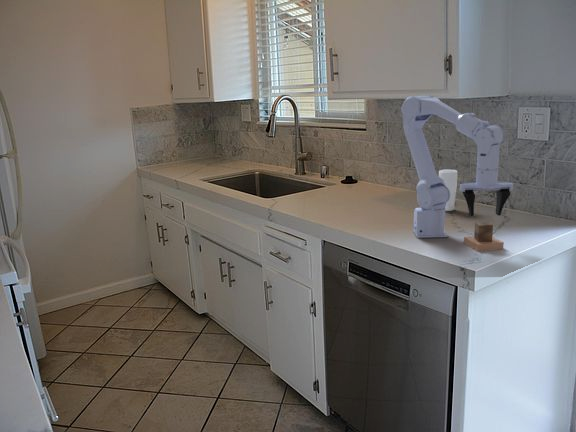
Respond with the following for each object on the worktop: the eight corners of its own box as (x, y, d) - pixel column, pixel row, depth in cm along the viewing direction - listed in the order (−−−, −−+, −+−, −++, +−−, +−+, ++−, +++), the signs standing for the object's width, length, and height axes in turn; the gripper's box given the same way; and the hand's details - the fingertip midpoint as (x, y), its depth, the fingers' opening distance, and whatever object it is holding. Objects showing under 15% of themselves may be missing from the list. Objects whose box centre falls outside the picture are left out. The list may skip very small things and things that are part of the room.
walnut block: (477, 242, 150) (478, 225, 149) (474, 238, 154) (474, 221, 152) (492, 241, 149) (493, 225, 148) (488, 237, 153) (488, 221, 152)
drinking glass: (452, 207, 199) (454, 168, 195) (458, 211, 193) (460, 171, 189) (435, 208, 199) (436, 169, 195) (440, 212, 192) (442, 172, 189)
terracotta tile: (477, 253, 148) (477, 244, 147) (463, 244, 156) (464, 237, 155) (503, 250, 149) (503, 242, 149) (488, 242, 157) (488, 234, 156)
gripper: (465, 171, 143) (462, 219, 147) (518, 170, 142) (515, 217, 146) (458, 167, 150) (456, 212, 153) (509, 166, 149) (506, 211, 152)
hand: (484, 215), depth 150 cm, fingers open, 7 cm apart
